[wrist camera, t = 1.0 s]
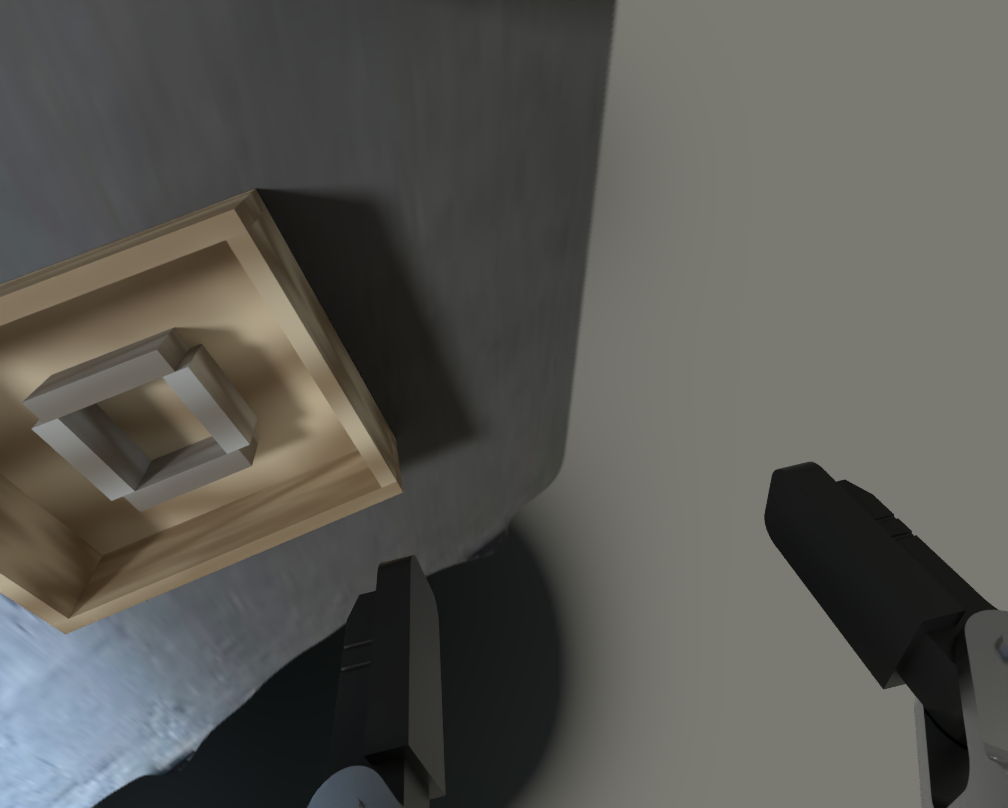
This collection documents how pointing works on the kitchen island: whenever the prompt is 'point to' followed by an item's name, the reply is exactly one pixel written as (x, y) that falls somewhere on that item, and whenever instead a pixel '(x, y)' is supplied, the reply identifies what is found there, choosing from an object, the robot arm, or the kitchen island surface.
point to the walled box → (173, 415)
